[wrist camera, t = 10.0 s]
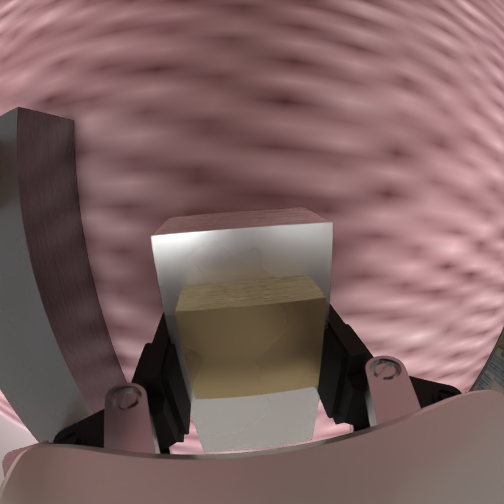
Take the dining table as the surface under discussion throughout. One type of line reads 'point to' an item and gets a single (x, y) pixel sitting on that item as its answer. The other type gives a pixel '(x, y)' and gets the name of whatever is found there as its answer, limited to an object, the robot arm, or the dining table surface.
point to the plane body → (47, 282)
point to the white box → (247, 320)
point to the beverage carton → (493, 370)
